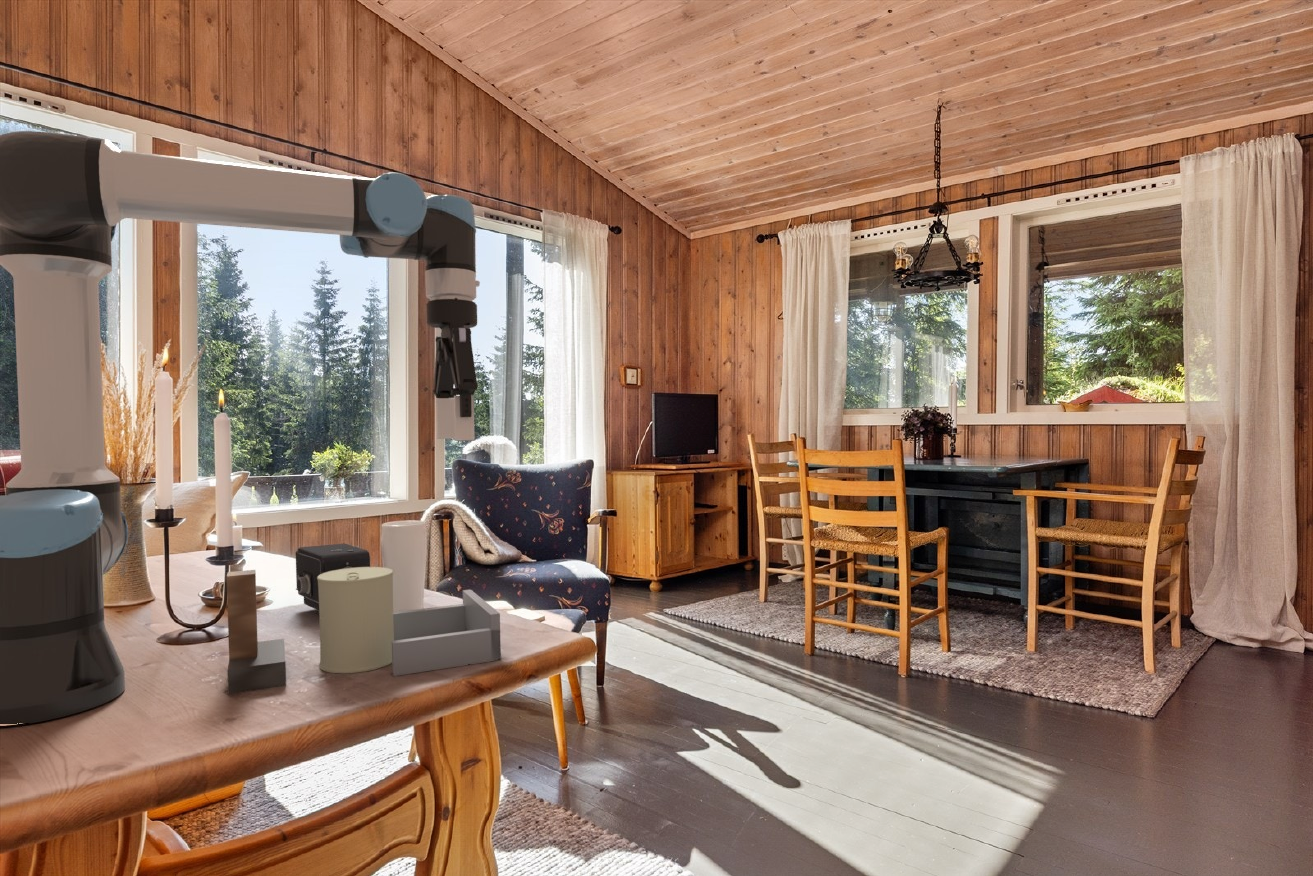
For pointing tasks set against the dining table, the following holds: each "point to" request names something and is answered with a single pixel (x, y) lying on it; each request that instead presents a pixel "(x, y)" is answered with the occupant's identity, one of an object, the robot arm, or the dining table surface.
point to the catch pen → (445, 636)
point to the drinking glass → (405, 561)
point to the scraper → (250, 640)
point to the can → (356, 619)
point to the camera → (324, 566)
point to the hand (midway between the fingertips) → (455, 439)
